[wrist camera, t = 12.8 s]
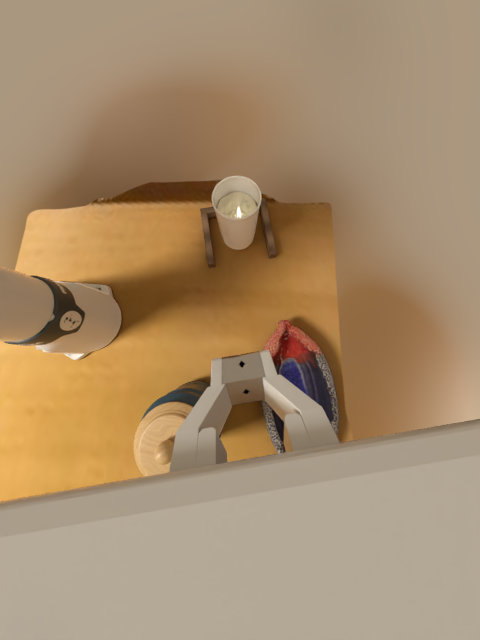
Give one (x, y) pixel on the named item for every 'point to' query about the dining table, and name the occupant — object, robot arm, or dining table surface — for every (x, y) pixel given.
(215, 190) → the candle holder
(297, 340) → the dish
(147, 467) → the canister
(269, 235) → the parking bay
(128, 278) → the dining table surface
